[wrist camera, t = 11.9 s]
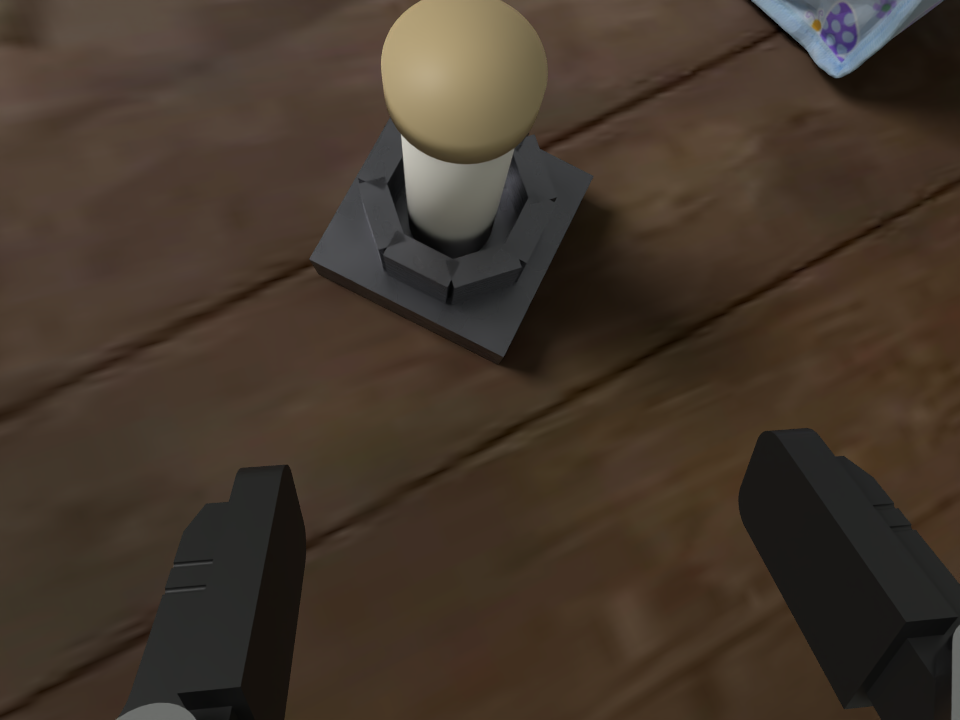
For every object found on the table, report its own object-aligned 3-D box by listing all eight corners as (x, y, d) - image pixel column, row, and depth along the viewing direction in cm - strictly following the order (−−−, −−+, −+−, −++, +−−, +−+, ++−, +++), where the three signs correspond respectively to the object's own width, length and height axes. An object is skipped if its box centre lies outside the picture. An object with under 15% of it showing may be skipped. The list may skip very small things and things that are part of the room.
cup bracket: (318, 274, 32) (296, 237, 26) (411, 110, 34) (407, 44, 28) (497, 364, 32) (512, 346, 27) (581, 196, 34) (610, 146, 28)
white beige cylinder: (381, 239, 30) (350, 96, 18) (429, 154, 31) (428, -36, 19) (473, 285, 30) (503, 173, 18) (518, 199, 31) (574, 38, 19)
